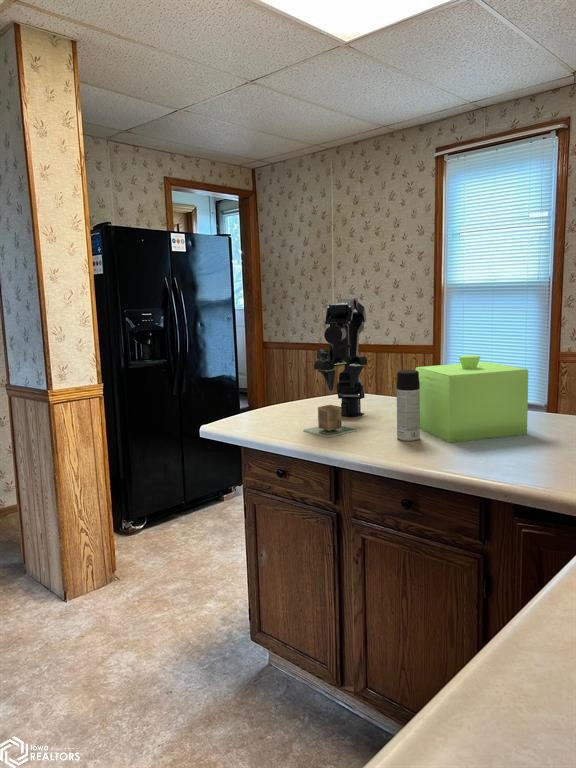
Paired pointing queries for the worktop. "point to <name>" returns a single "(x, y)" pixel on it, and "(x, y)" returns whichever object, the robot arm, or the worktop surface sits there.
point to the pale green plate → (329, 433)
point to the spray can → (408, 405)
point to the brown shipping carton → (329, 417)
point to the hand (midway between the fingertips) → (341, 388)
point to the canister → (473, 400)
